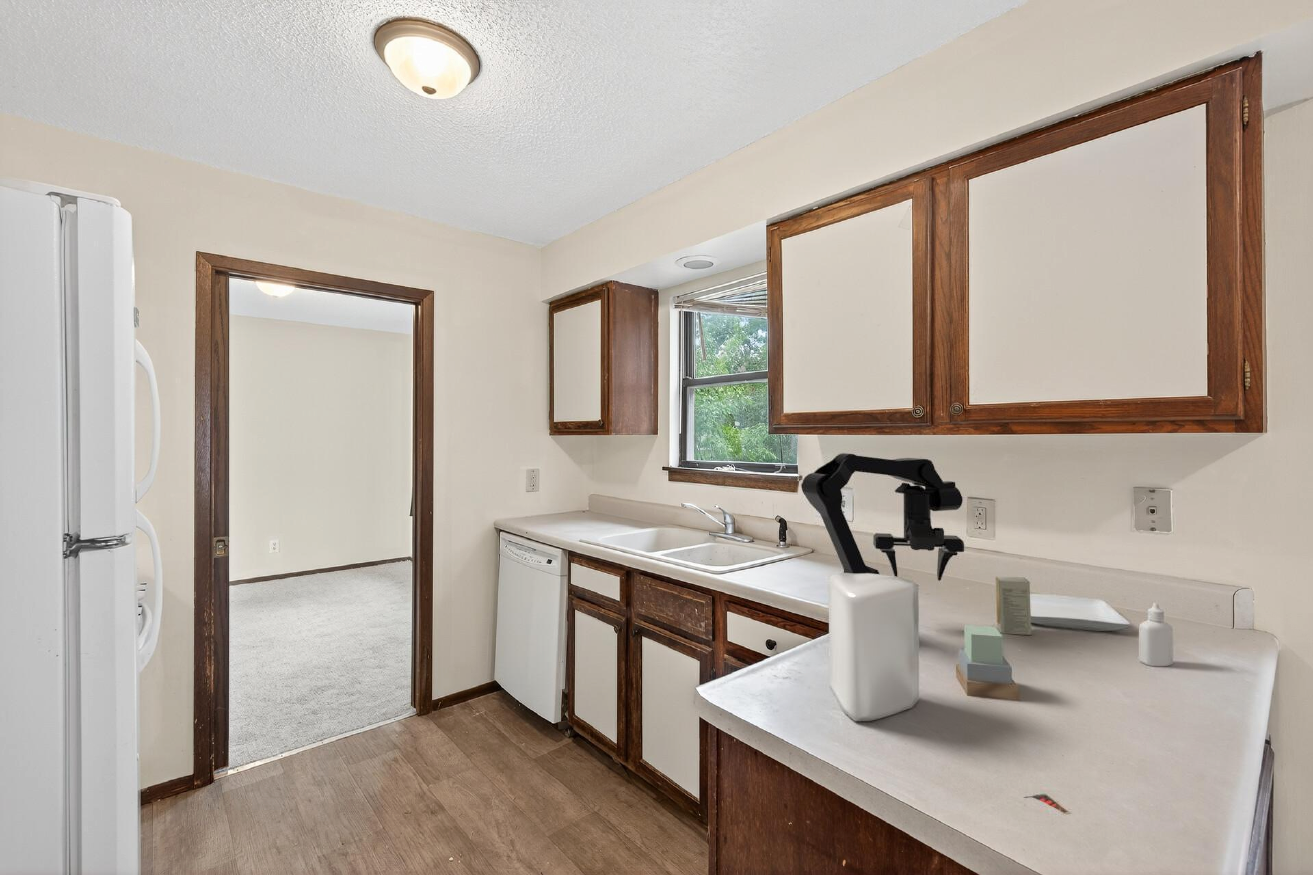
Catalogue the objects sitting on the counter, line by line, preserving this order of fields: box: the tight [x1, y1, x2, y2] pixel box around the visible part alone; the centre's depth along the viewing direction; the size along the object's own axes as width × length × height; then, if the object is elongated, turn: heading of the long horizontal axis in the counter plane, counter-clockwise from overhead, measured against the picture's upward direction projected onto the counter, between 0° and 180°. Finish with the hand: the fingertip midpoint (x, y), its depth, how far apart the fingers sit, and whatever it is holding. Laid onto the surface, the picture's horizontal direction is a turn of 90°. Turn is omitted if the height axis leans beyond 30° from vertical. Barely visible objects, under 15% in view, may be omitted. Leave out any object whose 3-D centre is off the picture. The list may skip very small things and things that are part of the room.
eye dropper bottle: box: [1138, 602, 1174, 667], centre depth 116 cm, size 4×6×12 cm
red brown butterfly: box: [1018, 793, 1071, 815], centre depth 73 cm, size 5×5×1 cm
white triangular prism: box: [828, 572, 920, 722], centre depth 102 cm, size 15×14×22 cm
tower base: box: [955, 663, 1019, 701], centre depth 106 cm, size 8×8×3 cm
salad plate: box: [1030, 593, 1132, 632], centre depth 144 cm, size 21×21×3 cm
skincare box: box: [995, 576, 1032, 636], centre depth 135 cm, size 6×4×12 cm
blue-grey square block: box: [958, 648, 1013, 684], centre depth 106 cm, size 7×7×3 cm
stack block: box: [963, 624, 1004, 665], centre depth 106 cm, size 5×5×5 cm
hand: (917, 579), depth 136 cm, fingers open, 9 cm apart
